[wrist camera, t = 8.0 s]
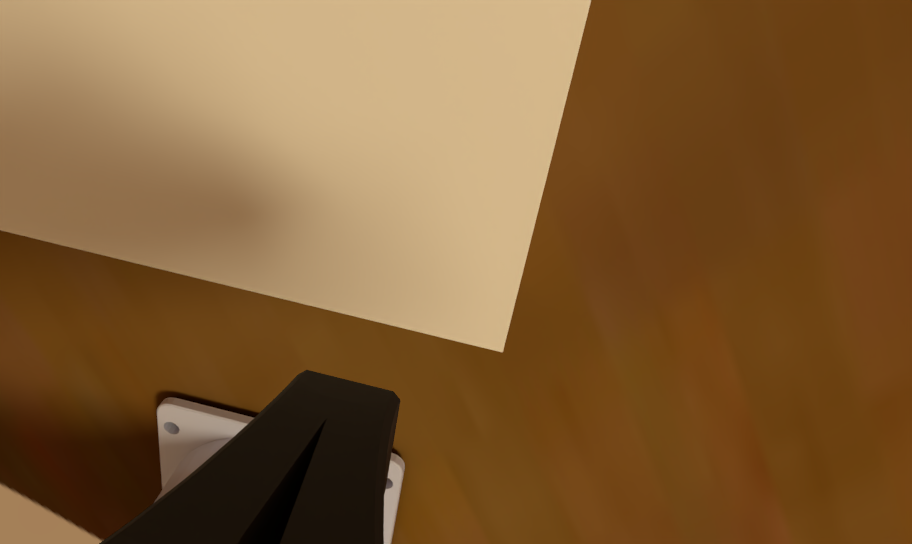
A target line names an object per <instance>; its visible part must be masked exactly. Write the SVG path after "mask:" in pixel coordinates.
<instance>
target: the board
mask: <svg viewBox="0 0 912 544" xmlns="http://www.w3.org/2000/svg"><path fill="white" fill-rule="evenodd" d="M590 3H591V0H0V230H1V231H5V232H10V233H14V234H18V235H22V236H26V237H30V238H34V239H38V240H42V241H47V242H51V243H55V244H59V245H63V246H67V247H71V248H75V249H79V250H84V251H88V252H92V253H96V254H100V255H104V256H108V257H112V258H116V259H121V260H125V261H129V262H133V263H137V264H141V265H145V266H149V267H154V268H158V269H162V270H166V271H170V272H174V273H178V274H182V275H186V276H191V277H195V278H199V279H203V280H207V281H211V282H215V283H219V284H223V285H228V286H232V287H236V288H240V289H244V290H248V291H252V292H256V293H260V294H265V295H269V296H273V297H277V298H281V299H285V300H289V301H293V302H297V303H302V304H306V305H310V306H314V307H318V308H322V309H326V310H330V311H334V312H339V313H343V314H347V315H351V316H355V317H359V318H363V319H367V320H372V321H376V322H380V323H384V324H388V325H392V326H396V327H400V328H404V329H409V330H413V331H417V332H421V333H425V334H429V335H433V336H437V337H441V338H446V339H450V340H454V341H458V342H462V343H466V344H470V345H474V346H478V347H483V348H487V349H491V350H495V351H499V352H503V349H504V345H505V341H506V337H507V333H508V329H509V325H510V321H511V317H512V313H513V309H514V305H515V301H516V297H517V293H518V289H519V285H520V281H521V277H522V273H523V269H524V265H525V261H526V257H527V253H528V249H529V245H530V241H531V237H532V233H533V229H534V225H535V221H536V217H537V214H538V210H539V206H540V202H541V198H542V194H543V190H544V186H545V182H546V178H547V174H548V170H549V166H550V162H551V158H552V154H553V150H554V146H555V142H556V138H557V134H558V130H559V126H560V122H561V118H562V114H563V110H564V106H565V102H566V98H567V94H568V90H569V86H570V82H571V78H572V74H573V70H574V66H575V62H576V58H577V54H578V50H579V46H580V42H581V38H582V35H583V31H584V27H585V23H586V19H587V15H588V11H589V7H590Z"/></svg>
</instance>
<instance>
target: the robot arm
mask: <svg viewBox="0 0 912 544" xmlns="http://www.w3.org/2000/svg"><path fill="white" fill-rule="evenodd" d="M399 404H400V399H399V398H398V397H397V395H396V394H395V393H394V392H393V391H389V390H385V389H381V388H377V387H373V386H369V385H365V384H361V383H357V382H353V381H349V380H345V379H341V378H337V377H333V376H329V375H325V374H321V373H317V372H313V371H309V370H306V371H304V372H302V373H300V374H298V375H297V376H296V377H295V378H294V379H293V380H292V382H291V383H290V384H289V385H288V386H287V387H286V388H285V389H284V390H283V391H282V392H281V393H280V394H279V395H278V396H277V397H276V398H275V399H274V400H273V401H272V402H271V403H270V404H269V405H267V406H266V407H265V408H264V409H263V410H262V411H261V412H260V413H259V414H258V415H257V416H256V417H255V418H253V417H250V416H246V415H242V414H238V413H234V412H230V411H226V410H222V409H218V408H214V407H210V406H206V405H202V404H198V403H194V402H190V401H187V400H183V399H179V398H172V397H169V398H165V399H164V400H163V401H162V402H161V404H160V405H159V406H158V408H157V424H158V438H159V452H160V466H161V480H162V491H161V492H160V494H159V495H158V497H157V499H156V500H155V502H154V503H153V504H152V505H151V506H149V507H148V508H147V509H146V510H144V511H143V512H142V513H140V514H139V515H138V516H137V517H135V518H134V519H133V520H131V521H130V522H129V523H127V524H126V525H125V526H123V527H122V528H120V529H119V530H118V531H116V532H115V533H114V534H112V535H111V536H109V537H108V538H107V539H105V540H104V541H102V542H101V543H99V544H391V542H392V536H393V531H394V525H395V520H396V514H397V509H398V503H399V498H400V492H401V487H402V481H403V475H404V470H405V463H404V462H403V460H402V458H400V457H399V456H398V455H396V454H394V453H392V447H393V441H394V435H395V429H396V423H397V417H398V411H399ZM175 424H176V425H175ZM387 478H389V479H387Z"/></svg>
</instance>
